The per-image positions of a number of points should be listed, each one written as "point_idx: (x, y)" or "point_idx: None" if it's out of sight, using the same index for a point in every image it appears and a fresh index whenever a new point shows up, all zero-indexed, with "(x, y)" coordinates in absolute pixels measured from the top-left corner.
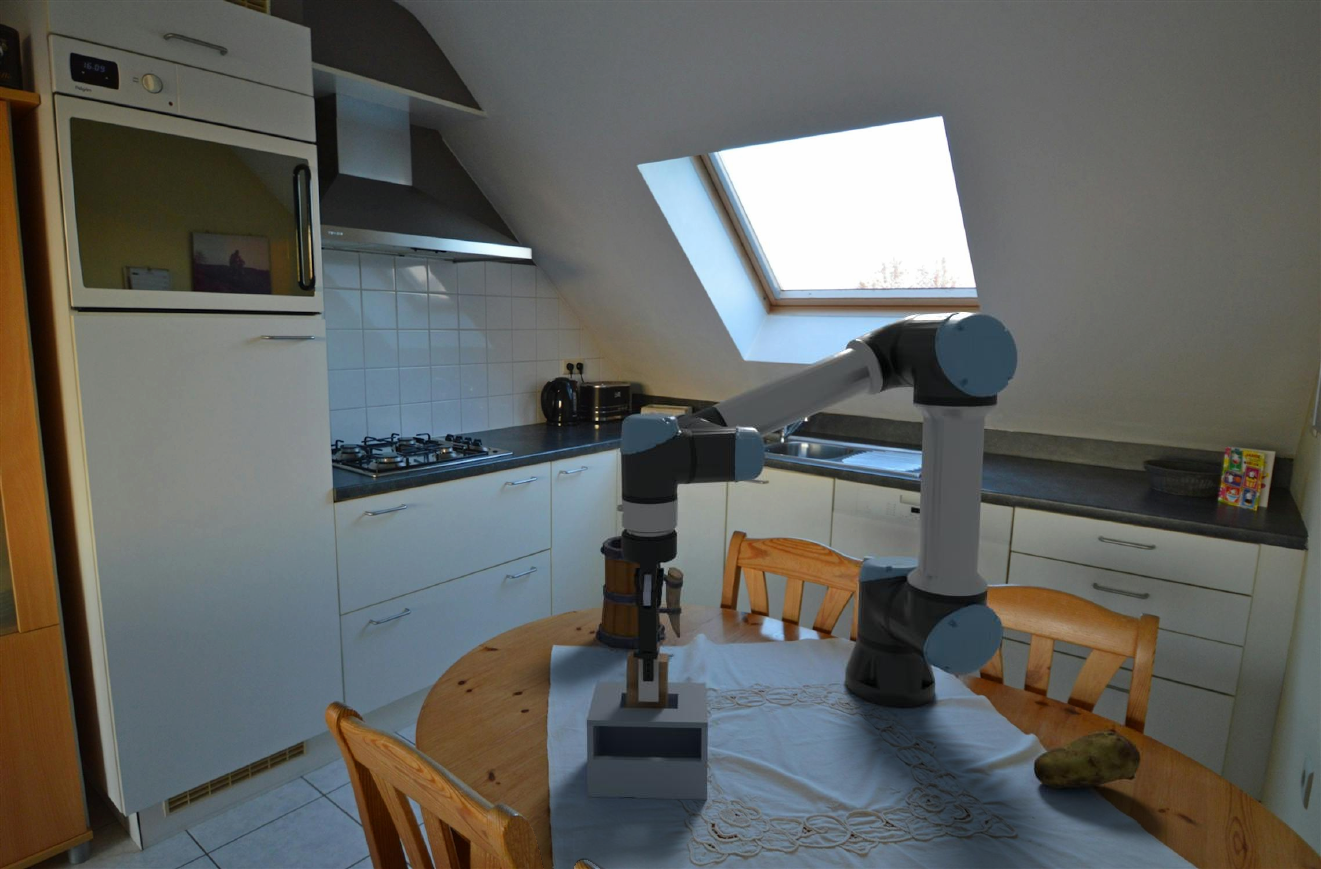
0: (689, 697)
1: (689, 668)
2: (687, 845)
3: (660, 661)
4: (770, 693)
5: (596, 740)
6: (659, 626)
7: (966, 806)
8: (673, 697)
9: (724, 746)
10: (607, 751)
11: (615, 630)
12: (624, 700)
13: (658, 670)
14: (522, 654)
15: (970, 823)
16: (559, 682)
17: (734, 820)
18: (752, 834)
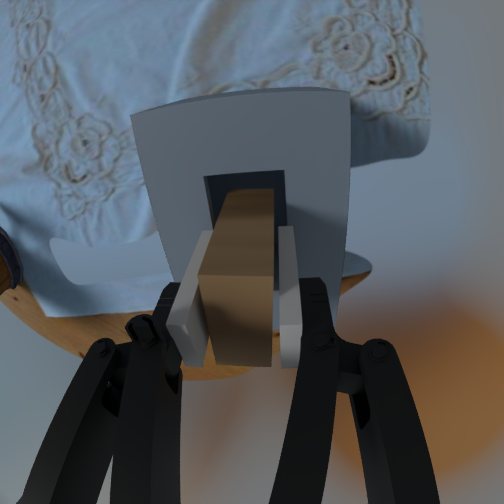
0: (217, 144)
1: (9, 175)
2: (410, 120)
3: (271, 294)
4: (28, 54)
5: None
6: (107, 351)
7: None
8: (207, 183)
9: (163, 72)
10: None
11: (6, 277)
12: None
13: (291, 281)
14: (74, 337)
15: None
16: (95, 306)
17: (359, 52)
18: (385, 35)
